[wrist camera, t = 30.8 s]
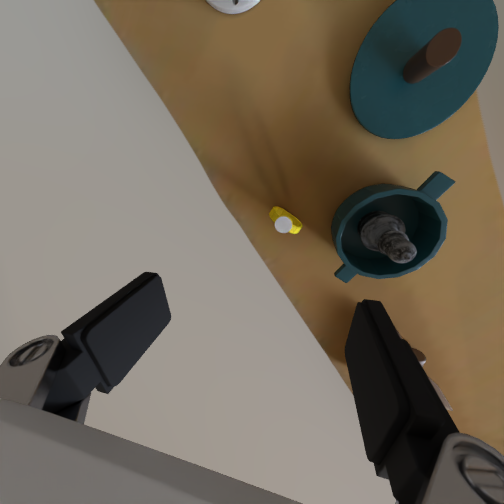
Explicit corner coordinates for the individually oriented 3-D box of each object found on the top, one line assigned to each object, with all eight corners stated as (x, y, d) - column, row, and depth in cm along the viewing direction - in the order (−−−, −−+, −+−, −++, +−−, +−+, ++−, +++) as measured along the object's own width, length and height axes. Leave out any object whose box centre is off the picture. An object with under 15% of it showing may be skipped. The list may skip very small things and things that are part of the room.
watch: (305, 218, 35) (305, 228, 29) (296, 230, 36) (294, 242, 31) (277, 200, 34) (273, 207, 29) (269, 212, 36) (263, 222, 31)
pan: (306, 246, 37) (307, 261, 32) (385, 148, 28) (405, 146, 23) (364, 282, 37) (375, 303, 32) (461, 198, 28) (498, 207, 23)
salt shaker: (374, 201, 31) (411, 224, 20) (404, 221, 31) (456, 254, 20) (347, 230, 33) (367, 263, 23) (375, 248, 34) (407, 289, 23)
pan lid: (325, 105, 27) (331, 92, 22) (414, -46, 20) (455, -121, 15) (409, 159, 28) (435, 159, 22) (525, 29, 21) (604, -16, 15)
